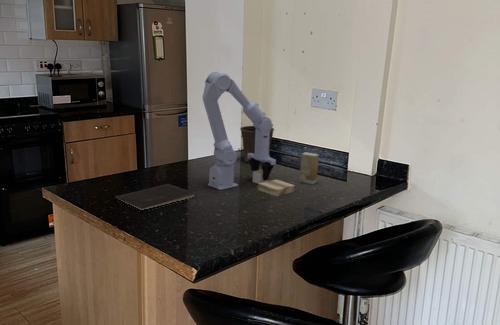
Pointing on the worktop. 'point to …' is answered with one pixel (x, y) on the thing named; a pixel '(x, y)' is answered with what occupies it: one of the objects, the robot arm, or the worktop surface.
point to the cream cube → (258, 176)
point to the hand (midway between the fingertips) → (260, 178)
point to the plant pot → (251, 141)
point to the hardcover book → (156, 196)
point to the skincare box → (309, 168)
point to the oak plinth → (276, 187)
